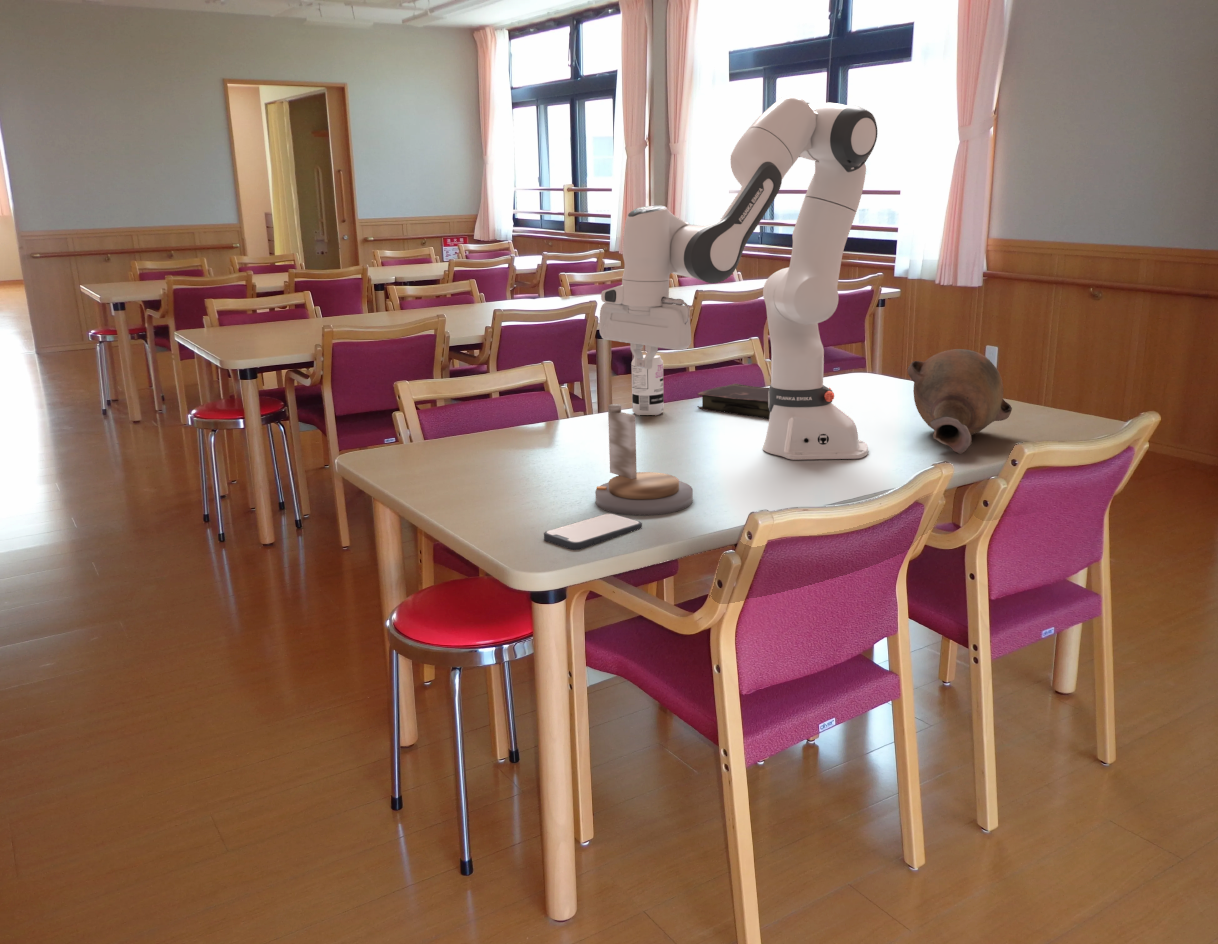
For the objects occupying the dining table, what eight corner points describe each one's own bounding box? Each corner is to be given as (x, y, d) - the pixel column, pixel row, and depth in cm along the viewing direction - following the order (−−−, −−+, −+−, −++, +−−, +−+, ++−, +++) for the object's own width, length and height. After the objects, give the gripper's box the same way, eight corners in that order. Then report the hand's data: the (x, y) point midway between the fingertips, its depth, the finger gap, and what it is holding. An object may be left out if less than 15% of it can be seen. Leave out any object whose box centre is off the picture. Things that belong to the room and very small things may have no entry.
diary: (736, 399, 276) (736, 382, 275) (814, 410, 260) (815, 391, 259) (695, 411, 263) (695, 392, 262) (775, 422, 247) (775, 402, 245)
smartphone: (609, 520, 175) (540, 541, 164) (609, 511, 175) (540, 532, 164) (645, 531, 169) (576, 553, 158) (645, 522, 169) (576, 544, 158)
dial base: (699, 489, 190) (699, 476, 190) (684, 517, 173) (684, 504, 173) (608, 485, 194) (607, 473, 194) (584, 513, 177) (584, 500, 177)
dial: (693, 489, 182) (693, 411, 178) (639, 503, 174) (638, 422, 171) (638, 473, 194) (636, 399, 190) (585, 486, 186) (582, 409, 183)
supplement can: (630, 410, 263) (629, 354, 259) (661, 409, 264) (660, 353, 260) (634, 417, 255) (632, 359, 251) (665, 415, 256) (665, 358, 252)
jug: (928, 422, 240) (906, 473, 216) (913, 345, 234) (888, 389, 210) (1017, 411, 230) (1004, 463, 206) (1004, 331, 224) (989, 375, 200)
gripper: (699, 298, 182) (696, 373, 185) (616, 289, 195) (615, 359, 198) (678, 301, 177) (676, 377, 181) (594, 291, 190) (593, 363, 194)
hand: (643, 368), depth 190 cm, fingers closed
